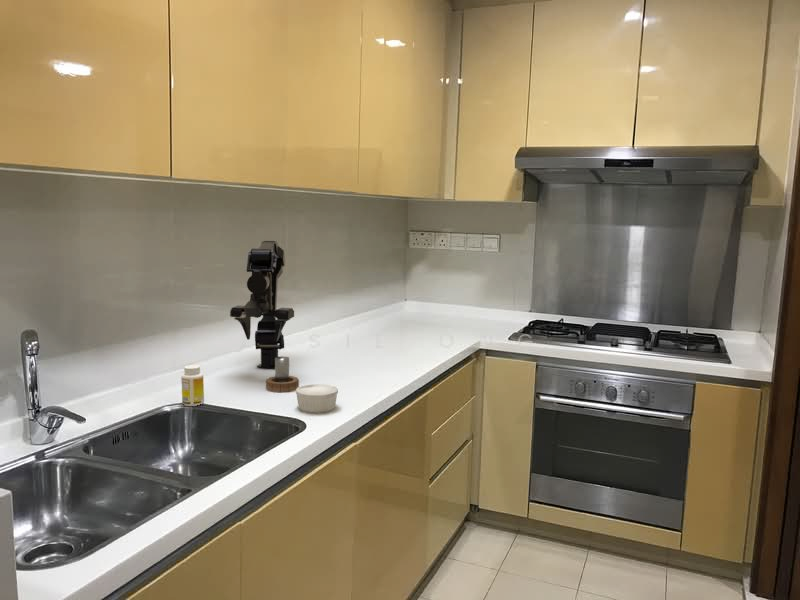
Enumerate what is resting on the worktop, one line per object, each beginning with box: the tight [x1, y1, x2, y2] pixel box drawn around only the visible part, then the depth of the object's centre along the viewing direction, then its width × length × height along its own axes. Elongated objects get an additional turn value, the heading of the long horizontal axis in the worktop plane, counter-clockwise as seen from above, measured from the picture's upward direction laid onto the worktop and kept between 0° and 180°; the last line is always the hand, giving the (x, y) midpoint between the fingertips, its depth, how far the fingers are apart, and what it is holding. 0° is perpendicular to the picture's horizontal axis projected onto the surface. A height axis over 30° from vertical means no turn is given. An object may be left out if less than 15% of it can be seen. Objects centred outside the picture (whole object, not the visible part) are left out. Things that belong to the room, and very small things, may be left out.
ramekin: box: [295, 383, 339, 414], centre depth 175 cm, size 11×11×5 cm
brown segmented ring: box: [265, 375, 300, 393], centre depth 193 cm, size 9×9×2 cm
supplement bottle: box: [181, 364, 205, 407], centre depth 176 cm, size 6×6×10 cm
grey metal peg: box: [274, 356, 290, 383], centre depth 193 cm, size 4×4×9 cm
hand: (262, 340), depth 203 cm, fingers open, 9 cm apart
